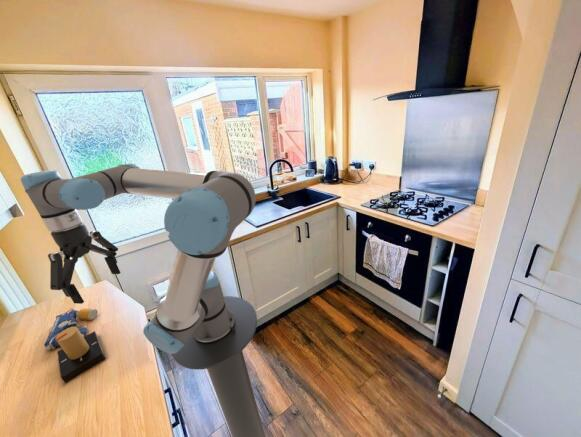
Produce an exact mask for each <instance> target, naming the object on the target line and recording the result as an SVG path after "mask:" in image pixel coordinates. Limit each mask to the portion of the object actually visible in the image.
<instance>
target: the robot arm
mask: <svg viewBox="0 0 581 437" xmlns="http://www.w3.org/2000/svg"><path fill="white" fill-rule="evenodd" d="M20 182H21V184H22V186H23V189H24V192H25V193H26V195H27V196H28V197H29V200H30V201H31V203H32V204H33V206H34V208H35V209H36V211H37V212H38V214H39V216H40V218H41V220H42V221H43V223H44V225H45V228H46V229H47V230H48V231H49V232H50V236H51V237H52V240H53V241H54V242H55V244H56V245H57V246H58V248H59V251H56V252H49V253H48V254H47V258H48V260H49V262H50V267H49V268H50V276H49V278H50V281H49V282H50V284H49V286H50V287H49V289H50V290H51V291H62V292H63V294H64V296H65V297H67V298H70V299H71V300H72V303H73V304H80V305H83V303H85V301H84V299H83V297H82V295H81V294H80V291H79V290H78V289H77V287H76V285H75V284H74V283H71V282H72V279H73V276H74V275H73V274H74V272H75V271H74V270H75V267H76V263H77V262H78V261H79V259H81V258H83V256H85V255H87V254H89V253H90V252H93V253H97V254H100V255H103V256H105V257H104V261H105V262H106V265H107V266H108V269H109V270H110V272H111V275H120V274H121V271H120V268H119V266H118V259H117V258H116V256H117V254H118V253H117V252H118V251H119V248H118V247H117V246H116V245H114V243H112V242H110V241H109V240H108V239H106V238H105V237H104V236H103V235H102V233H101V232H100V231H99V230H97V231H96V230H95V231H93V230H92V231H90V232H89V229H88V228H87V226H86V223H84V222H83V218H82V217H81V216H82V215H81V214H80V212H79V211H80V210H82V211H86V210H92V209H97V207H98V208H99V206H101V204H102V203H103V202H104V201H105V200H109V199H110V198H113V197H117V196H119V195H122V194H130V195H138V196H147V197H156V198H162V199H170V200H172V201H171V202H170V203H169V204H168V206H167V208H166V210H165V212H164V219H163V225H164V230H165V232H168V233H169V234H167V237H168V239H169V241H170V243H172V244H173V246H174V247H175V248H176V249H177V250H176V255H175V257H174V262H173V266H172V271H171V274H170V278H169V282H168V287H167V289H166V290H167V291H166V294H165V296H164V297H162V299H161V300H160V301H159V302H158V304H157V307H156V310H155V315H154V316H153V317H152V319H150V320H149V321H148V322H147V323H146V325H144V327H143V329H142V331H143V335H144V337H145V338H146V339H147V341H148V342H149V343H150V344H151V345H153V346H154V347H155V348H157V349H158V350H160V351H162V352H164V353H166V354H170V355H171V354H174V353H177V352H178V351H179V350H180V349H181V348H182V347H183V346H184V345H185V343H186V342H187V341H188V339H189V338H190V337H191V335H192V334H193V337H194V339H195V340H196V341H197V342H198V343H200V344H213V343H216V342H219V341H221V340H222V339H224V338H225V337H227V336H228V335H229V334H230V333H231V331H233V332H235V329H233V328H234V325H235V318H234V314H233V312H232V311H231V310H230V309H229V307H228V306H227V305H226V304H225V301H224V297H225V296H224V293H223V289H222V286H221V280H220V279H219V277H218V274H217V273H216V272H215V271H214V270H212V269H213V266H214V264H215V261H216V259H217V258H219V257H221V256H222V255H223V254H224V253H225V252H226V250H227V248H228V247H229V243H230V241H231V238H232V236H233V233H234V231H235V230H236V229H237V227H239V225H240V224H242V223H243V222H244V221H245V220H246V219H247V218H248V217H250V215H251V214H252V212H253V210H254V208H255V206H256V191H255V189H254V186H253V185H252V183H251V182H250V181H249V179H248V178H247V177H245V176H244V175H242V174H240V173H237V172H232V171H222V170H209V171H207V172H206V173H196V172H186V171H185V172H184V171H175V170H172V171H171V170H162V169H160V170H159V169H149V168H140V167H139V166H138V165H136V164H133V163H126V164H118V165H116V166H113V167H109V168H106V169H101V170H99V171H95V172H92V173H88V174H83V175H79V176H75V177H71V178H63V177H62V175H61V174H60V173H59V172H58V171H57V170H55V169H49V170H42V171H41V170H40V171H35V172H30V173H28V174H27V173H26V174H24V175H22V176H21V177H20ZM93 241H95V242H96V243H98V244H99V245H100V246H98V245H96V244H94V243H92V242H93ZM101 246H102V247H101Z"/></svg>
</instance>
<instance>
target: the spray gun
mask: <svg viewBox="0 0 581 437" xmlns="http://www.w3.org/2000/svg"><path fill="white" fill-rule="evenodd" d="M98 314H99V312H98V309H96V308H81V309H79V310H75V309H74V308H69V309H68V310H66V311H65V312H63V313H60V314H57V315H56V316H55V321H54V323H53V325H52V327H51V330H50V332H49V334H48V336H47V338H46V339H45V342H44V347H45V350H46V351H50V350H51V349H52V350H55V349H56V348H57V347H61V346H60V344H59V343H58V342H57V340H56V337H57V336H58V334H59V333H61V332H62V331H63V330H65V329H67V328H70V327H77V328H78V329H79V331H80V333H81V334H82V336H83V337H85V336H87V332H88V327H87V326H86V325H84V326H82V327H80V324H79V323H78V321H77V319H78V320H89V321H90V320H91V321H92V320H94V319H96V318H97V317H98Z"/></svg>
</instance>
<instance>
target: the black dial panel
mask: <svg viewBox="0 0 581 437" xmlns="http://www.w3.org/2000/svg"><path fill="white" fill-rule="evenodd" d="M96 332H97V331H95V330H94V331H92V332H91V333H89V334H86V335H85V336H84V339H85V340H86V342H87V344H88V345H89V350H88V351H87V352H86V353H85V354H84V355H83V356H81V357H79V358H77V359H74V360H71V359H69V357H68V356H67V354H66V353H65V352H64V350H63V349H62V348H61V349H59V350H58V351H57V359H58V360H57V361H58V365H59V366H58V367H59V373H60V378H61V380H62V381H63V382H64V384H67V383H69V382H71V381H72V380H74V379H76V378H78V377H79V376H81V375H83V374H84V373H86V372H87V371H88V370H90V369H92V368H93V367H95V366H97V365H98V364H100V363H101V362H103V361H104V360H106V359H107V357H106V354H105V352H104V349H103V346H102V343H101V341H100V337H99V335H98V334H97V333H96Z"/></svg>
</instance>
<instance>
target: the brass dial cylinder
mask: <svg viewBox="0 0 581 437" xmlns="http://www.w3.org/2000/svg"><path fill="white" fill-rule="evenodd" d="M84 337H85V336H84ZM84 337H83V336H82V334H81V333H80V331H79V329H78V328H77V327H76V326H75V327H70V328H67V329H65V330H63V331H62V332H61V333H59V334H58V336H57V337H56V340H57V342H58V343H59V344H60V346H59V347H60V348H61V349H63V350H64V352H65V353H66V354H67V356H68V357H69V359H71V360H74V359H77V358H79V357H81V356H83V355H84V354H85V353H86V352H87V351H88V350H89V345H88V344H87V342H86V340H85V339H84Z"/></svg>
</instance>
